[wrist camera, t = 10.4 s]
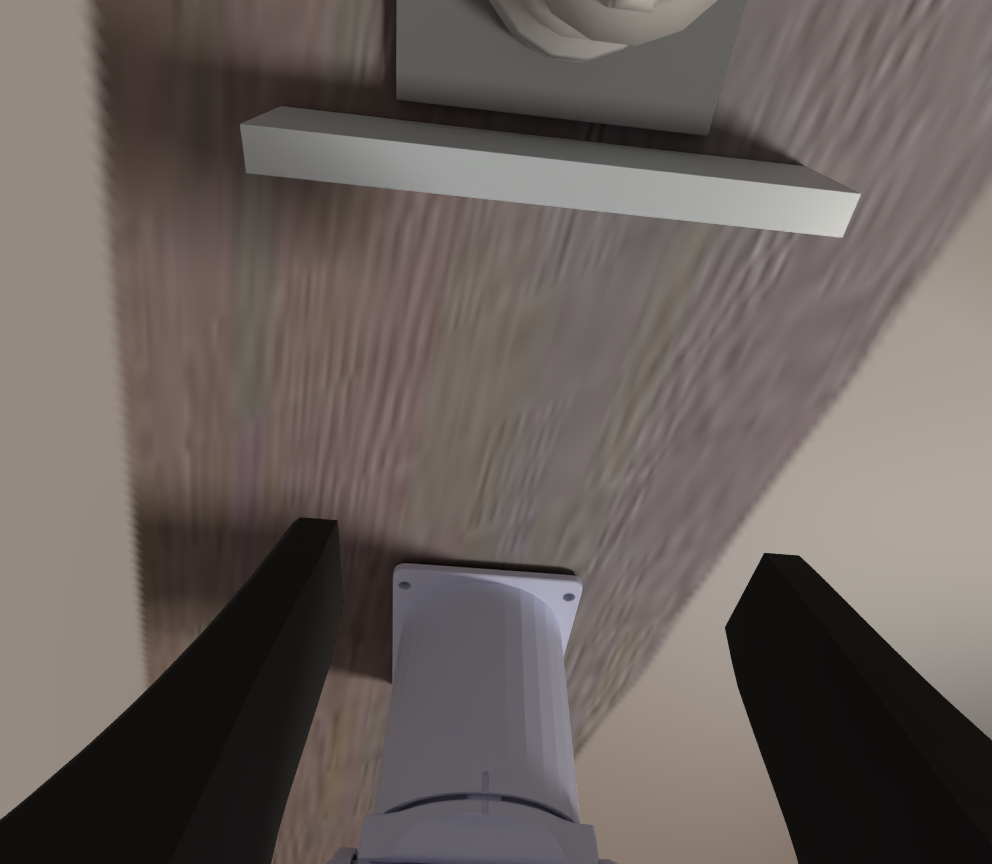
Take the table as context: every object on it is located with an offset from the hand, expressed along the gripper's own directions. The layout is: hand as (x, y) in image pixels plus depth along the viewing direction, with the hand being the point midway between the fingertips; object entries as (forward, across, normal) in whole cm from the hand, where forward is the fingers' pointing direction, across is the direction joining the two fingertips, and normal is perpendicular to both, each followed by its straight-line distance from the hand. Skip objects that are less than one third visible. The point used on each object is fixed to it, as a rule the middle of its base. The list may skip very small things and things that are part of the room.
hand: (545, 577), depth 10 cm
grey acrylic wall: (+10, 0, -5) cm, 11 cm away
